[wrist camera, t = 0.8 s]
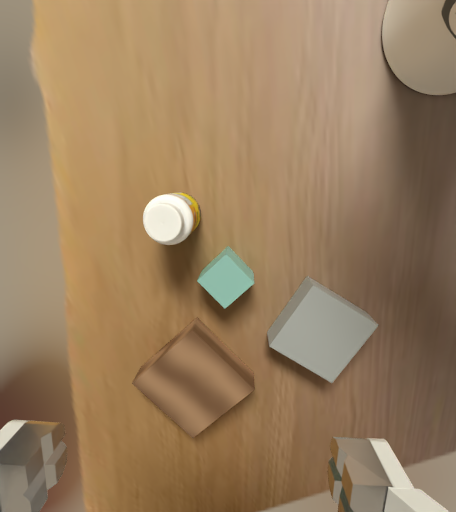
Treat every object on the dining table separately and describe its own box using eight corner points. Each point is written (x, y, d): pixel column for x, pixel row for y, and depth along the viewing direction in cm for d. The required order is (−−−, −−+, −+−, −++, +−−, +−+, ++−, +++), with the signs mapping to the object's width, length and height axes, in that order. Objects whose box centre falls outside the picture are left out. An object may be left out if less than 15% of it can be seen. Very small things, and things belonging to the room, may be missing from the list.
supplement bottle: (187, 241, 43) (171, 260, 33) (153, 218, 43) (125, 230, 33) (210, 207, 42) (199, 216, 32) (174, 183, 42) (152, 184, 32)
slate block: (307, 275, 44) (313, 285, 40) (366, 312, 44) (378, 325, 41) (267, 332, 46) (269, 346, 42) (324, 366, 47) (332, 383, 43)
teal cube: (228, 245, 43) (226, 254, 38) (253, 271, 44) (254, 283, 39) (202, 269, 44) (197, 280, 39) (227, 295, 45) (224, 308, 40)
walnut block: (196, 317, 46) (192, 330, 42) (253, 372, 47) (254, 389, 44) (141, 366, 48) (132, 383, 44) (196, 418, 50) (192, 438, 46)
